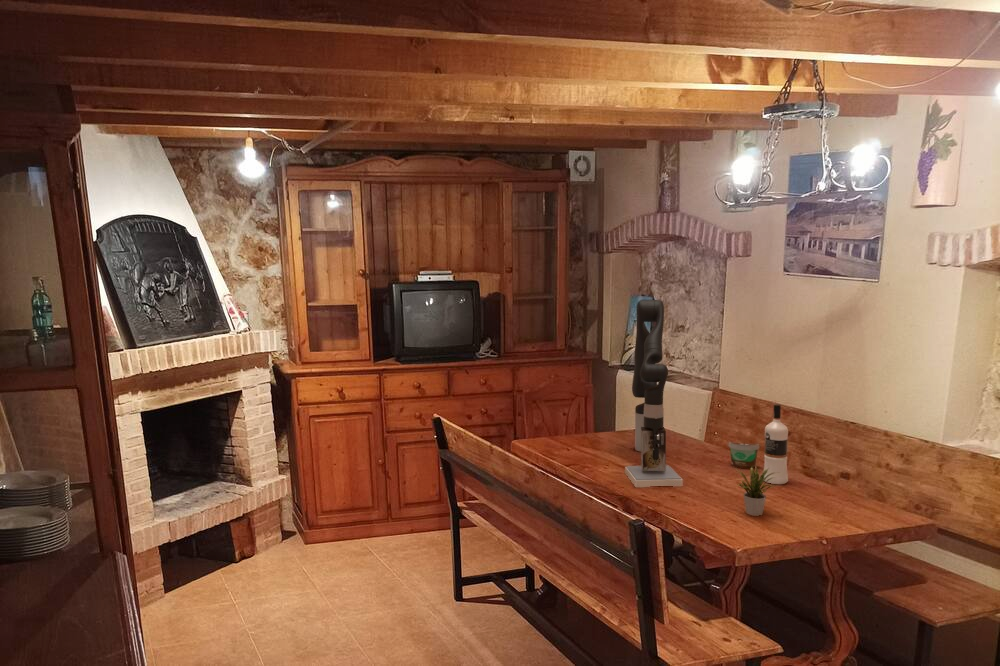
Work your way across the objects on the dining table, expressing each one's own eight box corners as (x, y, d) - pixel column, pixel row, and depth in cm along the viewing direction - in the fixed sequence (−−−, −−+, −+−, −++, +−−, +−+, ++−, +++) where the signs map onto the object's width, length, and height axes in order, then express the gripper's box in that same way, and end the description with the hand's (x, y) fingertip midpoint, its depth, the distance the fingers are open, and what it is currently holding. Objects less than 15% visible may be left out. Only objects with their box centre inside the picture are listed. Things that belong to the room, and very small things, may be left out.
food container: (726, 468, 287) (727, 444, 286) (727, 464, 293) (728, 440, 292) (758, 471, 282) (759, 446, 281) (759, 466, 288) (759, 443, 287)
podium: (625, 473, 281) (625, 465, 281) (669, 472, 282) (669, 464, 282) (635, 487, 263) (635, 479, 263) (682, 486, 264) (682, 478, 264)
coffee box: (663, 466, 275) (664, 426, 274) (666, 471, 269) (666, 430, 267) (640, 466, 276) (640, 426, 275) (642, 470, 270) (642, 430, 268)
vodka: (792, 484, 264) (794, 406, 261) (768, 485, 264) (770, 407, 261) (781, 477, 274) (783, 402, 271) (758, 477, 273) (760, 402, 270)
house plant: (789, 519, 229) (791, 470, 228) (753, 524, 225) (755, 474, 224) (761, 505, 243) (763, 459, 241) (727, 509, 239) (728, 462, 237)
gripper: (639, 411, 277) (639, 452, 279) (648, 419, 263) (648, 462, 265) (658, 410, 278) (657, 451, 279) (668, 418, 263) (667, 461, 265)
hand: (653, 456), depth 272 cm, fingers closed on coffee box, 7 cm apart
